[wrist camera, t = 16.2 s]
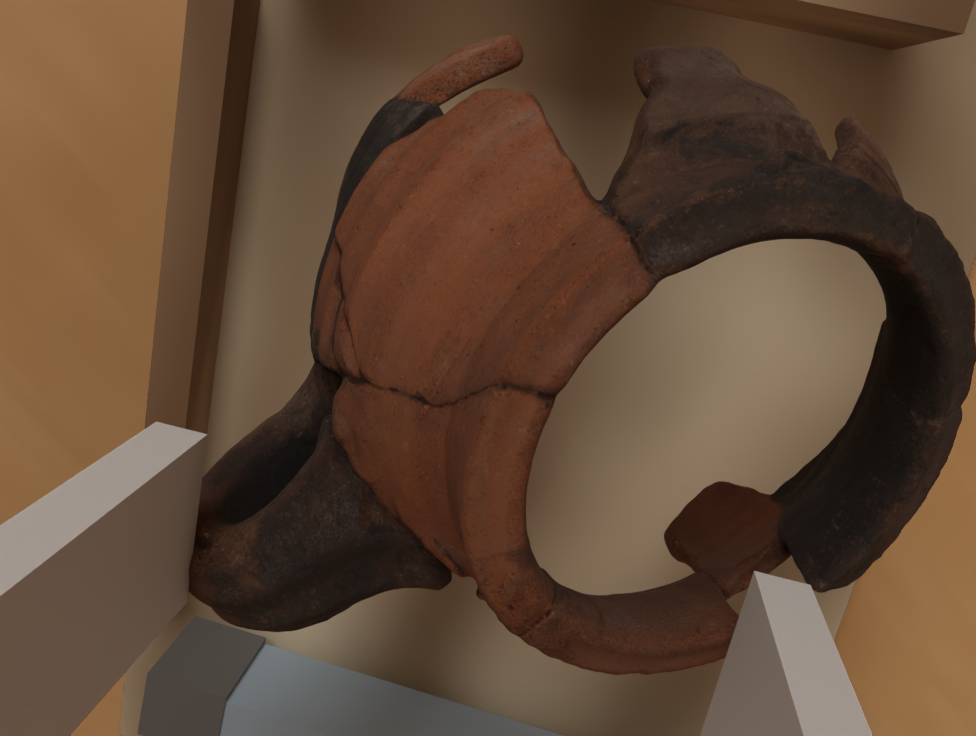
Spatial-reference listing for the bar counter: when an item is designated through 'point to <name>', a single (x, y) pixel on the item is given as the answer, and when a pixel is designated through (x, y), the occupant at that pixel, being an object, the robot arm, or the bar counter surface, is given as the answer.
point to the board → (619, 354)
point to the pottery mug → (569, 361)
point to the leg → (290, 695)
